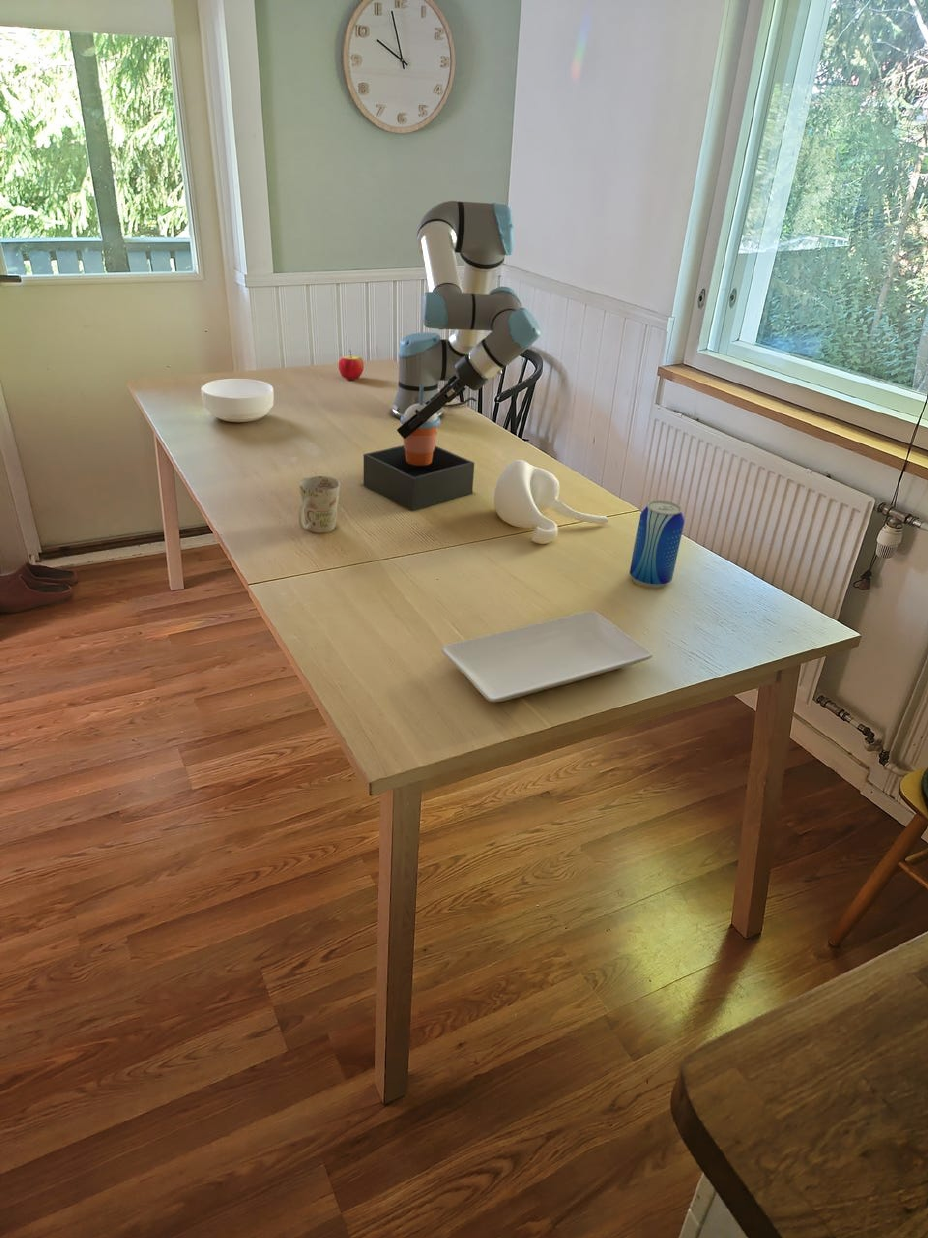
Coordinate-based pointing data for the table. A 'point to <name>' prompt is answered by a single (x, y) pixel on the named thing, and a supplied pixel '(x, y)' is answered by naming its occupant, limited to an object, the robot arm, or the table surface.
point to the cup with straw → (420, 436)
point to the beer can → (657, 544)
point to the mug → (319, 503)
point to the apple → (351, 367)
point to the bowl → (238, 399)
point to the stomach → (533, 501)
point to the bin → (418, 477)
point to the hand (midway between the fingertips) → (406, 427)
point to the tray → (544, 655)
